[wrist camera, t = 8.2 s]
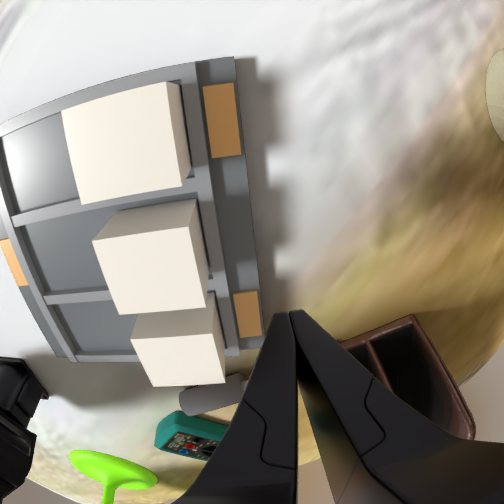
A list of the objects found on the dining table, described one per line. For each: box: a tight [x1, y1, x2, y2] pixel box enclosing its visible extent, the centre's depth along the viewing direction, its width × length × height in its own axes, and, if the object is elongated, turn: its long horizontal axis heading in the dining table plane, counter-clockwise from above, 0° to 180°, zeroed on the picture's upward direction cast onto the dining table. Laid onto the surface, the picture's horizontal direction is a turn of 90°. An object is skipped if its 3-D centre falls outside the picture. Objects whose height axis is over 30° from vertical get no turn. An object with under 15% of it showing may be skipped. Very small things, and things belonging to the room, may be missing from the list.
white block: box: [130, 292, 225, 387], centre depth 20 cm, size 5×5×4 cm
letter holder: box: [339, 314, 476, 440], centre depth 24 cm, size 10×20×14 cm, turn 20°
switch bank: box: [0, 56, 265, 363], centre depth 19 cm, size 19×20×2 cm
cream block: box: [92, 199, 209, 315], centre depth 17 cm, size 5×5×4 cm
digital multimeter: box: [154, 411, 229, 461], centre depth 32 cm, size 7×15×3 cm, turn 58°
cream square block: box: [61, 82, 192, 205], centre depth 14 cm, size 5×5×4 cm
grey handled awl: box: [179, 373, 248, 416], centre depth 25 cm, size 14×3×3 cm
